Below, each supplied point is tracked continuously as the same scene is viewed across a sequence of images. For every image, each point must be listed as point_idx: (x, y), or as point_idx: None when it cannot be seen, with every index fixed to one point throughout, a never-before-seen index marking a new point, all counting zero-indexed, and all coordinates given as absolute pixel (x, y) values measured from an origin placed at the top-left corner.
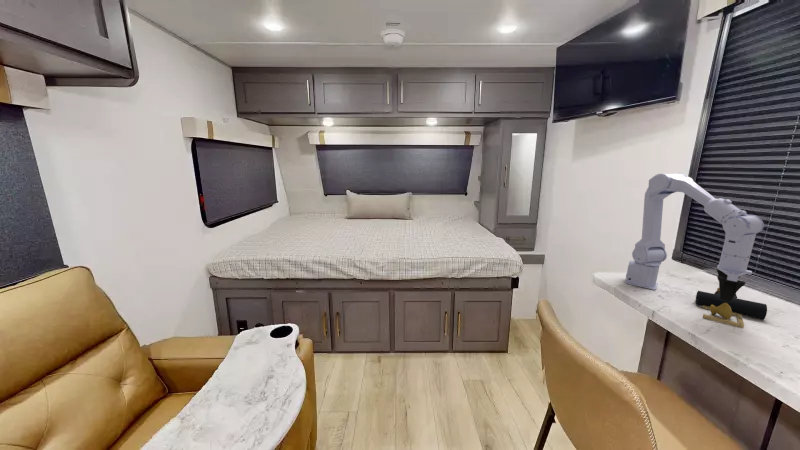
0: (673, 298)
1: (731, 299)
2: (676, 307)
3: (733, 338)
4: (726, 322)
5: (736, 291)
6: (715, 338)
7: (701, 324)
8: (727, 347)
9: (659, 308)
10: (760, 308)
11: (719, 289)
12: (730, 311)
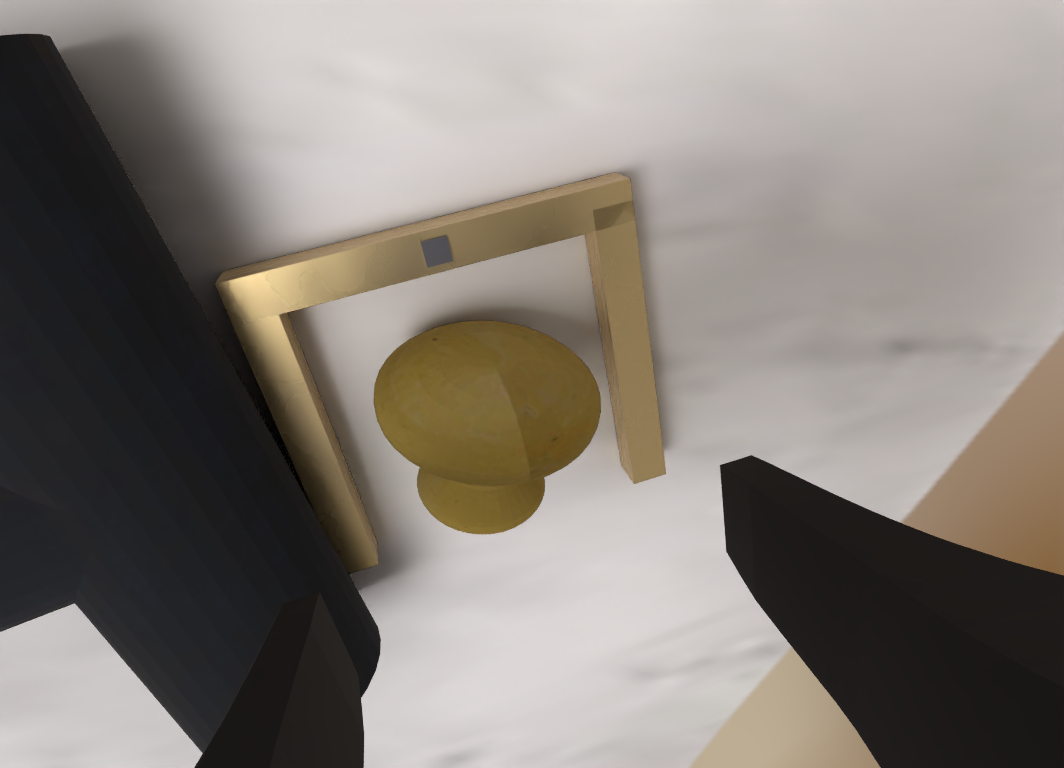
0: None
1: (777, 468)
2: (584, 632)
3: (937, 180)
4: (636, 309)
5: (966, 549)
6: (1026, 268)
7: (815, 410)
8: None
9: (723, 664)
10: (16, 135)
11: (358, 709)
12: (510, 364)
